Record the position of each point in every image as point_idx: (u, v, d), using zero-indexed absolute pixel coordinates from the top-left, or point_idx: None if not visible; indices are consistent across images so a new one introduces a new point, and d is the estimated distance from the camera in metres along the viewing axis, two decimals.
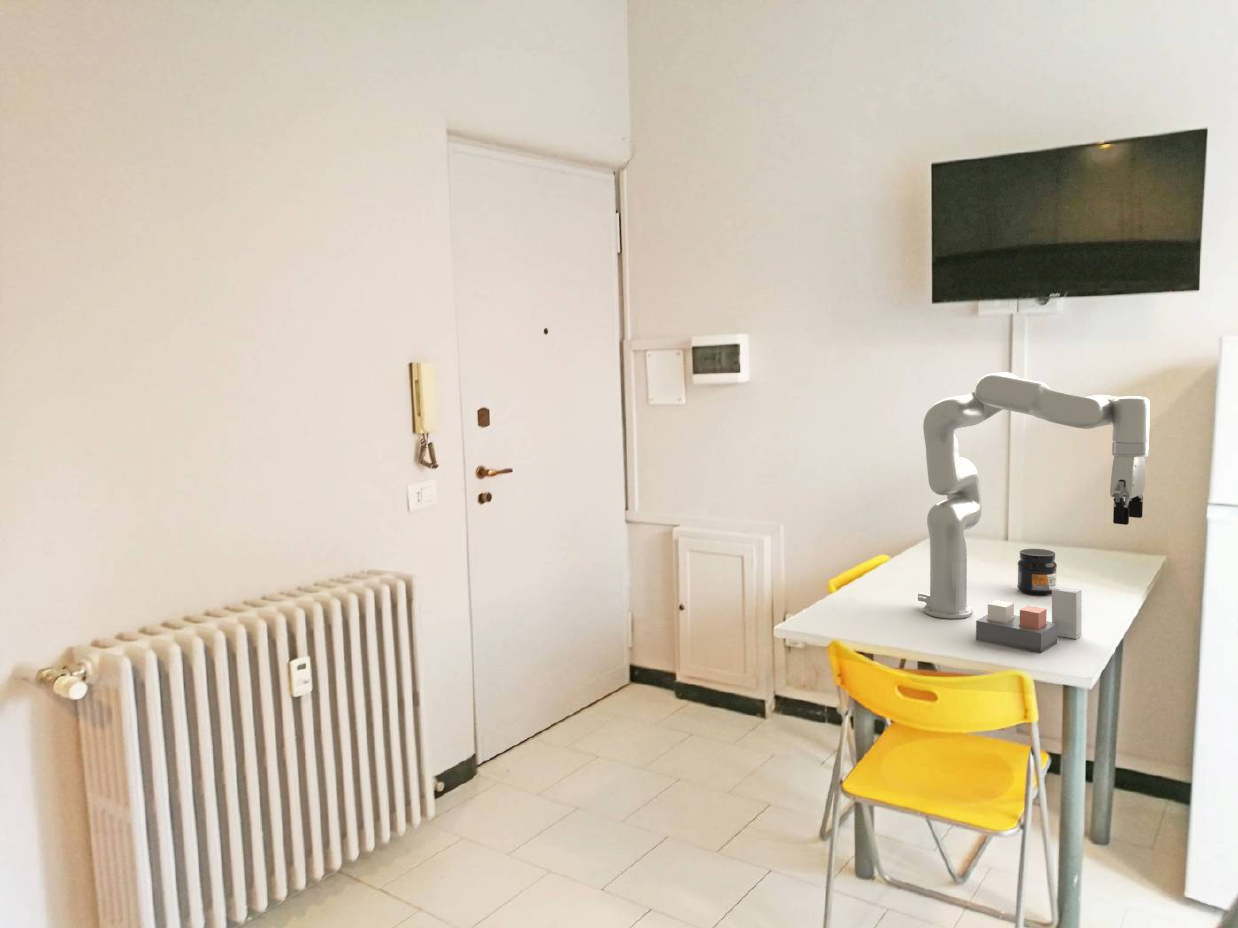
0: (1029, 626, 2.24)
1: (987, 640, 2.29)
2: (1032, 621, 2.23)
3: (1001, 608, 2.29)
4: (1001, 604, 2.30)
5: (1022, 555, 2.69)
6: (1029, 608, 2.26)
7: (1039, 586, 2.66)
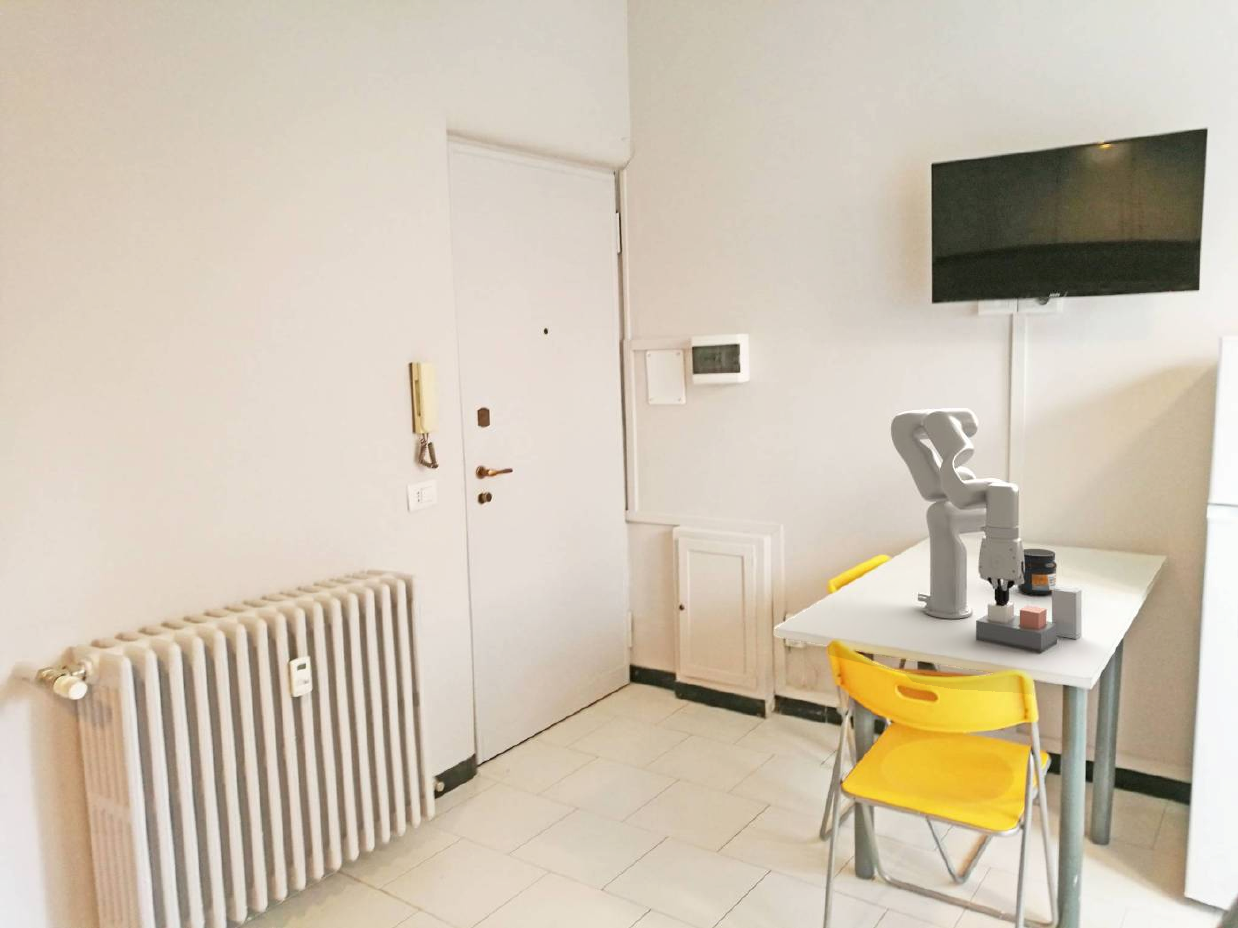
0: (1029, 626, 2.24)
1: (987, 640, 2.29)
2: (1032, 621, 2.23)
3: (1001, 608, 2.29)
4: None
5: None
6: (1029, 608, 2.26)
7: (1039, 586, 2.66)
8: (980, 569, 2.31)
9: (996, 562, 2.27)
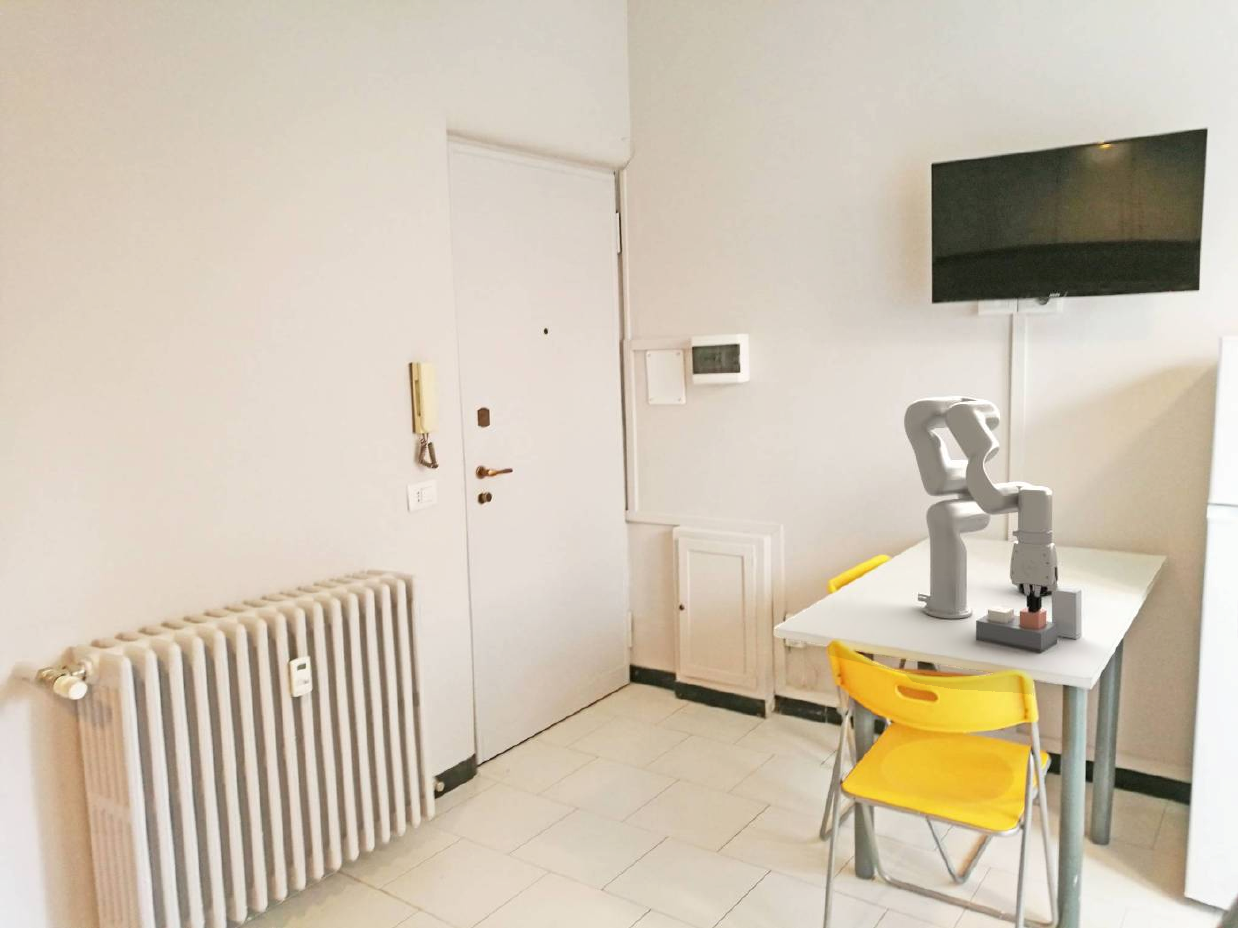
0: (1029, 627, 2.24)
1: (987, 640, 2.29)
2: (1032, 622, 2.23)
3: (1000, 613, 2.29)
4: (1001, 609, 2.30)
5: None
6: None
7: None
8: (1012, 575, 2.25)
9: (1028, 567, 2.22)
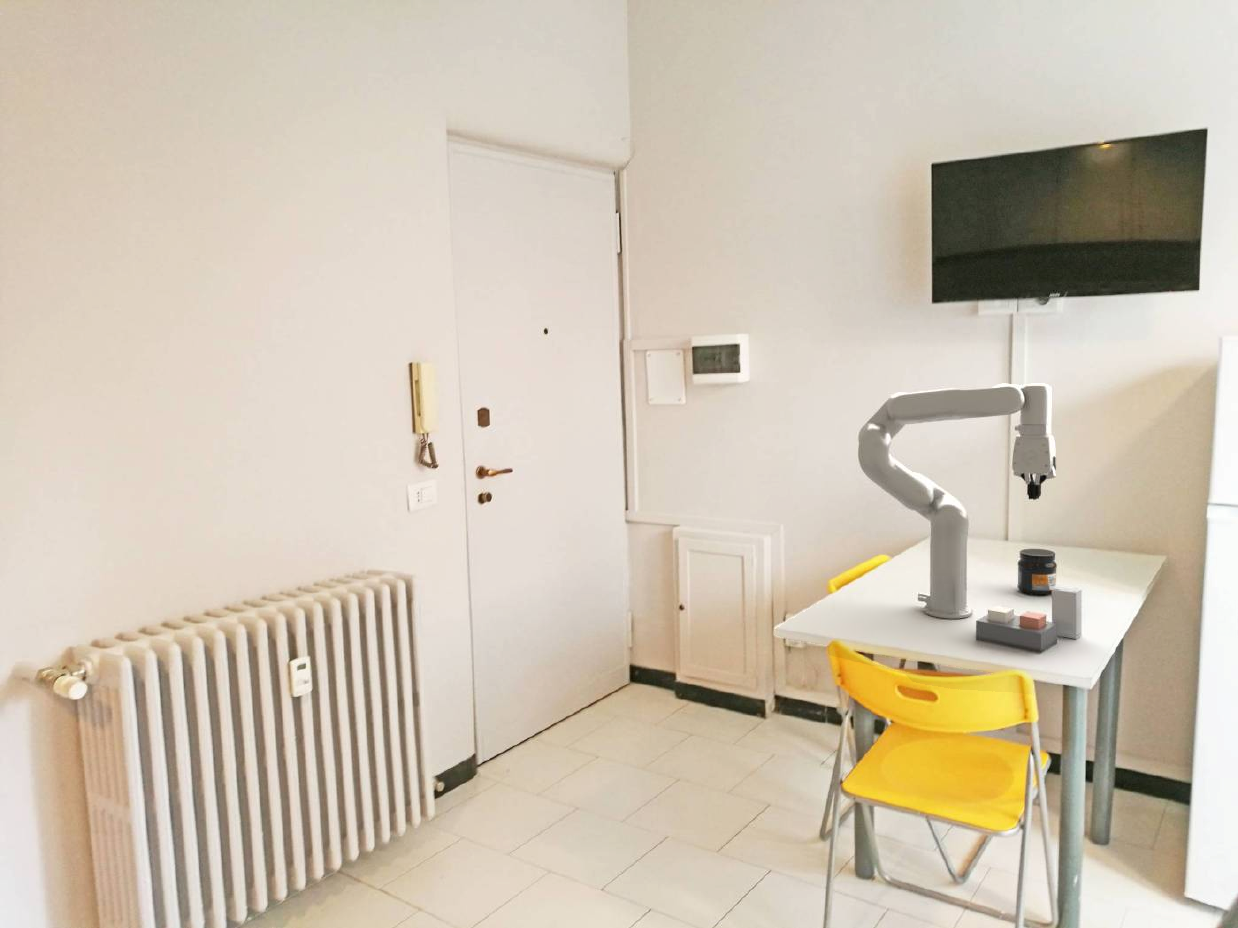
0: None
1: (987, 640, 2.29)
2: (1032, 627, 2.23)
3: (1000, 613, 2.29)
4: (1001, 609, 2.30)
5: (1022, 555, 2.69)
6: (1029, 614, 2.26)
7: (1039, 586, 2.66)
8: (1014, 466, 2.46)
9: (1029, 457, 2.42)
